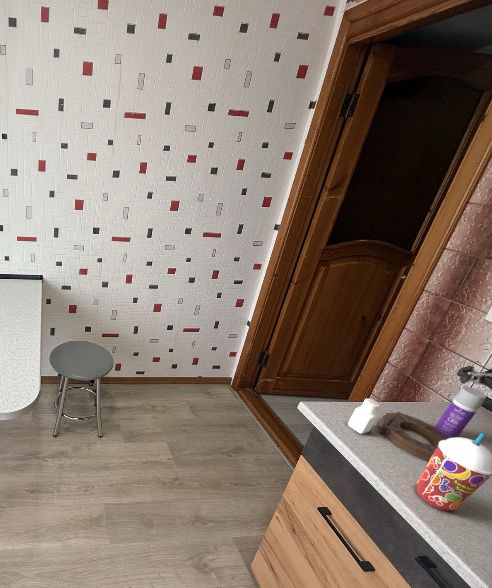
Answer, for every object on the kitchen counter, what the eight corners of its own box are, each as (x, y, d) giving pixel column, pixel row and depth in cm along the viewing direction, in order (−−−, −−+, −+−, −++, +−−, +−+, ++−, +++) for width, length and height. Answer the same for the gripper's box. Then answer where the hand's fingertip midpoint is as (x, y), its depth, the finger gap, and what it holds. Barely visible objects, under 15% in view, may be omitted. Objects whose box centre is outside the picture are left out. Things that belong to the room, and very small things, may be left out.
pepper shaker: (355, 421, 96) (369, 396, 92) (369, 432, 93) (385, 406, 89) (346, 424, 95) (360, 398, 91) (360, 435, 92) (376, 408, 88)
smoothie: (441, 520, 71) (496, 453, 62) (399, 484, 78) (444, 420, 70) (469, 514, 72) (526, 448, 64) (426, 479, 80) (472, 416, 72)
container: (436, 433, 94) (465, 392, 88) (432, 424, 98) (459, 383, 92) (459, 442, 92) (490, 400, 86) (454, 432, 96) (483, 391, 89)
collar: (459, 448, 90) (464, 441, 89) (445, 473, 82) (450, 466, 81) (389, 412, 101) (393, 406, 100) (371, 431, 93) (375, 424, 92)
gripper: (481, 354, 104) (457, 364, 98) (552, 382, 93) (530, 395, 86) (467, 374, 108) (444, 384, 101) (535, 403, 96) (513, 417, 89)
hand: (484, 389), depth 94 cm, fingers open, 8 cm apart
